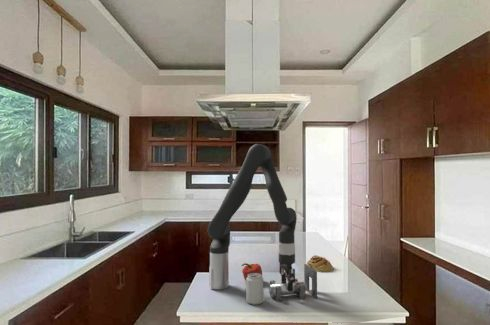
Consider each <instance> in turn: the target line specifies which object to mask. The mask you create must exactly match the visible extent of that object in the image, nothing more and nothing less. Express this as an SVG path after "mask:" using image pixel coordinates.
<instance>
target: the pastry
mask: <svg viewBox="0 0 490 325" xmlns="http://www.w3.org/2000/svg"><path fill="white" fill-rule="evenodd" d="M306 264H307V265H308V266H309V267H311V268H312V269H314V270H315V271H317V273H327V272H332V271H334V266H333V265H332V263H331V262H330V260H328V259H326V257H322V256H319V255H315V254H314V255H313V256H311V257H310V258H309V260H307V262H306Z"/></svg>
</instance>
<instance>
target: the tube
mask: <svg viewBox="0 0 490 325" xmlns="http://www.w3.org/2000/svg"><path fill="white" fill-rule="evenodd" d="M300 284H304V281H299V280H298V281H295V283H293V291H288V282H286V283H283V284H281V283H275V284H272V285H270V284H268V294H269V296H270V297H273V296H276V287H278V286H280V287H281V296H288V295H296V294H299V285H300ZM304 285H305V284H304ZM305 292H307V291H306V288H305Z"/></svg>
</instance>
